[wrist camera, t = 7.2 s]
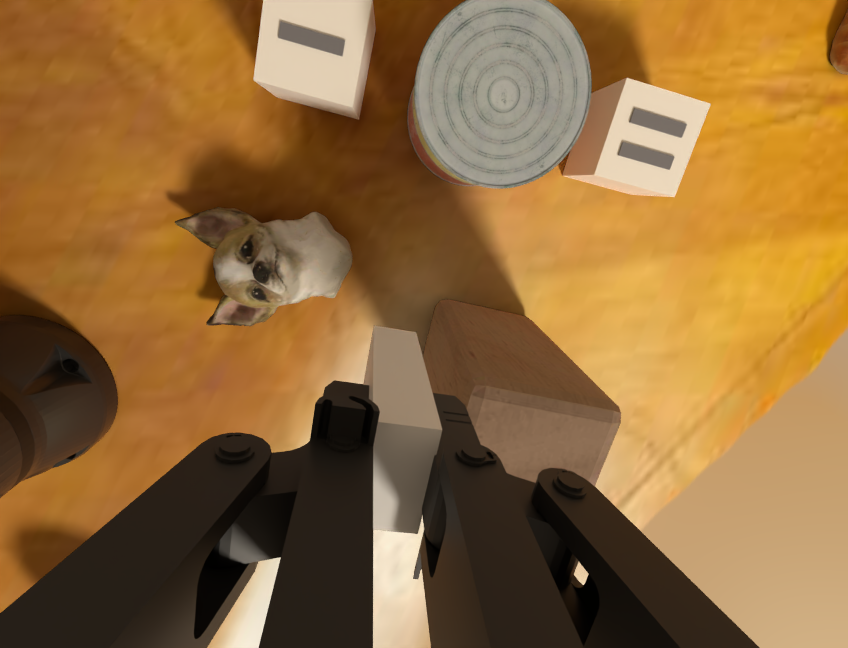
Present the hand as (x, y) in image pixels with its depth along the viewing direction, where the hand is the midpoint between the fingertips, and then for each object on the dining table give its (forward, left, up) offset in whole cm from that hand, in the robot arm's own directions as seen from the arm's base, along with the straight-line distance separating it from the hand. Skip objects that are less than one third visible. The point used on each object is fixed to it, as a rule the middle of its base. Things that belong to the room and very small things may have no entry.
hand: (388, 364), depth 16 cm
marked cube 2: (-9, +14, -28) cm, 33 cm away
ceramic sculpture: (-10, -3, -29) cm, 30 cm away
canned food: (+4, +13, -28) cm, 31 cm away
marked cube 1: (+17, +14, -28) cm, 36 cm away
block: (+10, -8, -28) cm, 31 cm away
